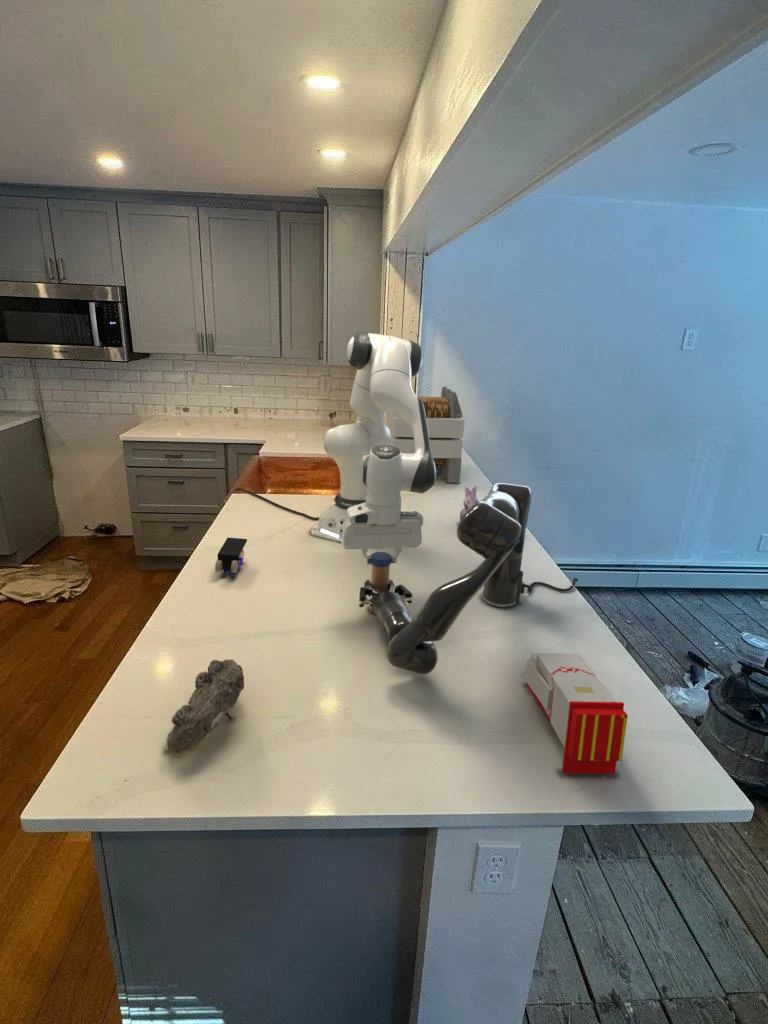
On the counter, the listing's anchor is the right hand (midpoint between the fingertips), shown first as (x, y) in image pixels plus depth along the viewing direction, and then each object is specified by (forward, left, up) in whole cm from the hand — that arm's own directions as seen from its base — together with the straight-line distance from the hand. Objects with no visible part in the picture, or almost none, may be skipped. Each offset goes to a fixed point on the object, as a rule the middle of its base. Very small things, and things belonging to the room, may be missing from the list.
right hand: (377, 582), depth 149 cm
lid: (0, +3, +9) cm, 9 cm away
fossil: (+40, +37, -7) cm, 56 cm away
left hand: (0, +3, +7) cm, 7 cm away
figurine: (-47, -52, -7) cm, 71 cm away
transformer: (-49, -123, -7) cm, 132 cm away
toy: (-26, +51, -7) cm, 58 cm away
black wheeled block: (+38, -27, -7) cm, 47 cm away
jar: (0, +3, -7) cm, 7 cm away
